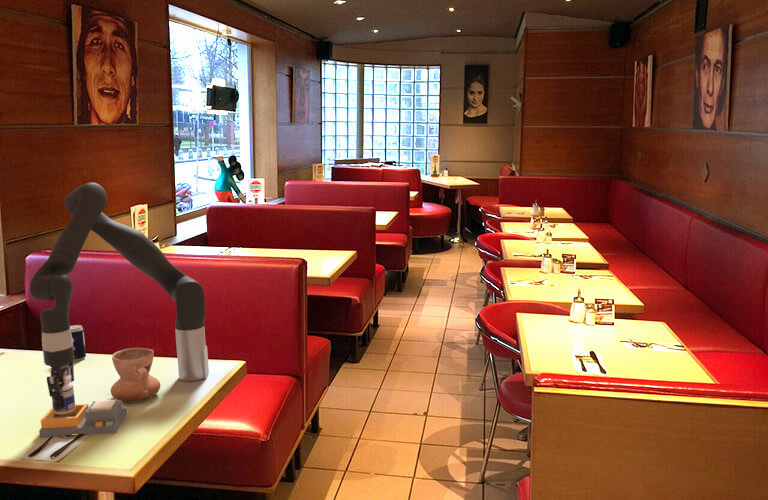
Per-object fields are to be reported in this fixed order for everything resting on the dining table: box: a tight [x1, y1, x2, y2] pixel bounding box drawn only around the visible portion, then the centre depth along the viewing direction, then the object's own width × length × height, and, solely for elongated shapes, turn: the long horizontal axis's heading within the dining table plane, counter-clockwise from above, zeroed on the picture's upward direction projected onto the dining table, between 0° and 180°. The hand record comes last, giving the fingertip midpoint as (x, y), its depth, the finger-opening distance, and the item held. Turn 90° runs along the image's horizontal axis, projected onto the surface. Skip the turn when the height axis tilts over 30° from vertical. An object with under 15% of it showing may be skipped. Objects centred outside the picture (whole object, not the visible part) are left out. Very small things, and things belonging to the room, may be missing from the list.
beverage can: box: [70, 324, 87, 362], centre depth 254 cm, size 6×6×12 cm
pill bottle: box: [51, 375, 76, 414], centre depth 196 cm, size 6×6×10 cm
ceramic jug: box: [110, 347, 161, 403], centre depth 217 cm, size 18×14×14 cm
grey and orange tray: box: [38, 399, 128, 438], centre depth 197 cm, size 20×12×6 cm, turn 95°
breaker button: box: [90, 399, 116, 411], centre depth 198 cm, size 5×5×4 cm
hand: (64, 403), depth 196 cm, fingers closed on pill bottle, 5 cm apart
